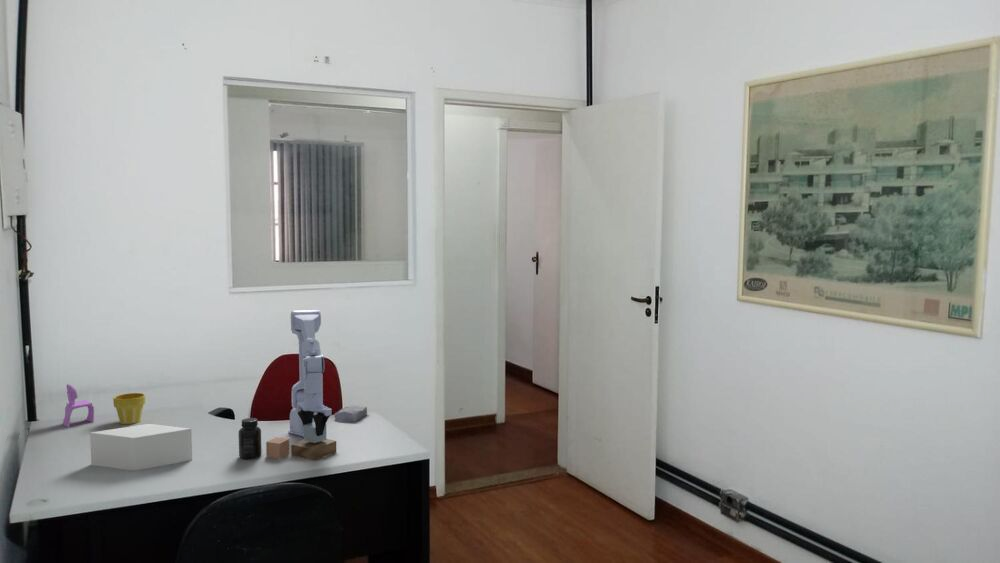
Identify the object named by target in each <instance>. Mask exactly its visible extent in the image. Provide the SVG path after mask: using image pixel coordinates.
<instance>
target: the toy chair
mask: <svg viewBox="0 0 1000 563" xmlns="http://www.w3.org/2000/svg"><path fill="white" fill-rule="evenodd" d="M66 394H67V400H68V402H67V403H66V406H65V408H64V418H63V420H62V421H63V422H62V424H61V425H63V426H65V427H67V428H70V425H71V424H70V423H71V422H70V421H71V416H72V413H73V411H74V410H77V409H79V408H84V407H85V408H86V407H87V411H88V413H87V417H86V419H85V420H86V421H88V422H90V423H93V424H94V421H95V420H94V419H95V415H94V414H95V407H94V405H93V402H90V401H88V400H87V399H84V400H79V401H75V400H77V398H78V394H77V390H76V388H75V387H74V386H73V385H72V384H69V383H67V384H66ZM78 399H79V398H78Z"/></svg>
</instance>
